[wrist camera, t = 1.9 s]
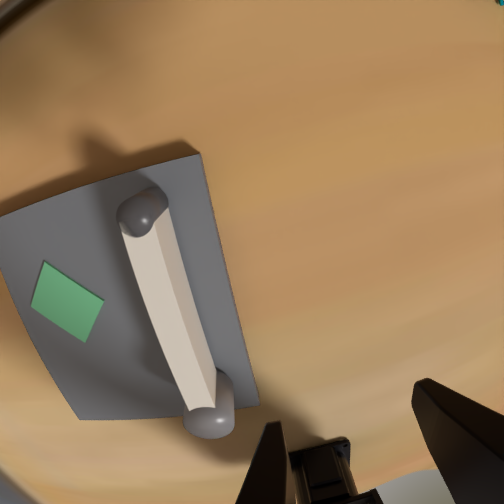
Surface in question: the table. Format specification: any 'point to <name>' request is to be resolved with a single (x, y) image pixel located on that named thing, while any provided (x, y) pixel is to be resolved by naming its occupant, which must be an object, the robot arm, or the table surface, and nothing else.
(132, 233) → the light grey rounded bar
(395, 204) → the table surface
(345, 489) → the robot arm
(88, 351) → the plate
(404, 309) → the table surface
